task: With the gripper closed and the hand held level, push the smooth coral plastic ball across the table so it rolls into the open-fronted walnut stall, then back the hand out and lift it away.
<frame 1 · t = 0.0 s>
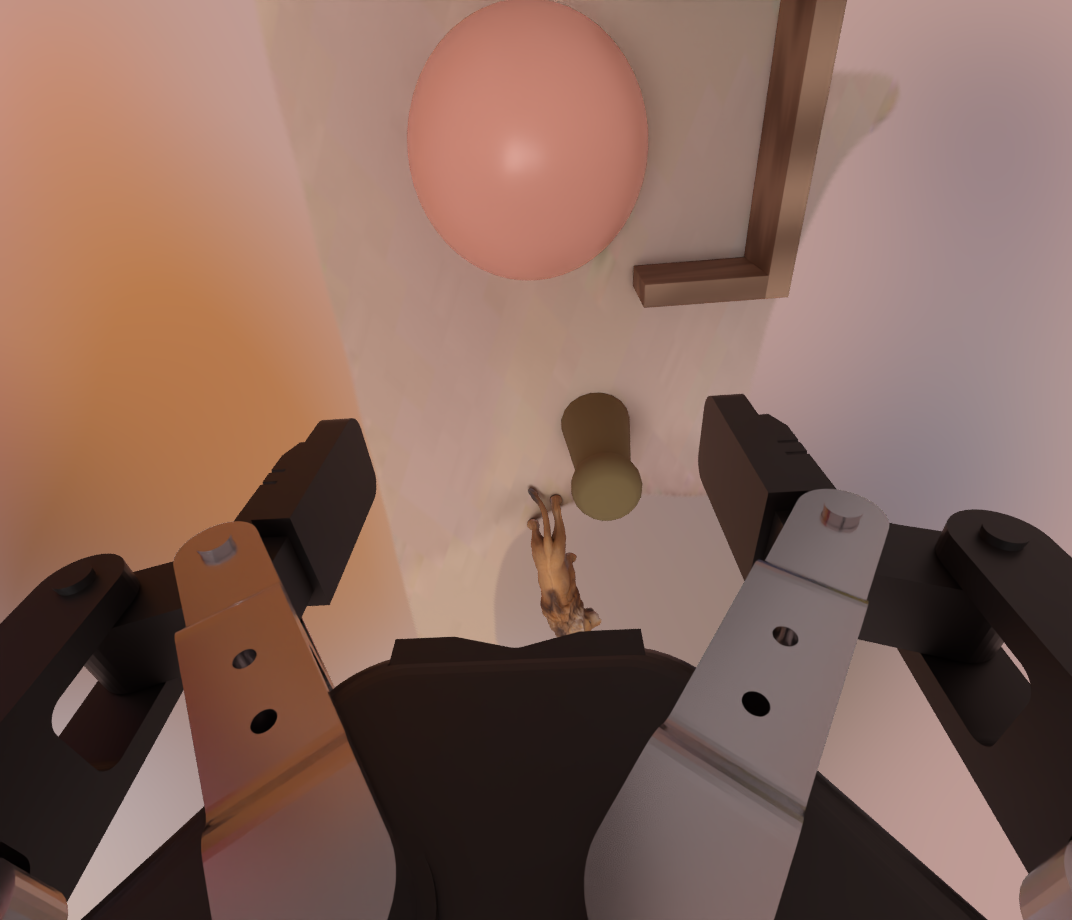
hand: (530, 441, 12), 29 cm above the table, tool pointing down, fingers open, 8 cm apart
stall: (711, 131, 33), on the table
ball: (528, 155, 29), point 6 cm above the table
lion figurine: (558, 539, 54), on the table
cork: (595, 422, 46), on the table
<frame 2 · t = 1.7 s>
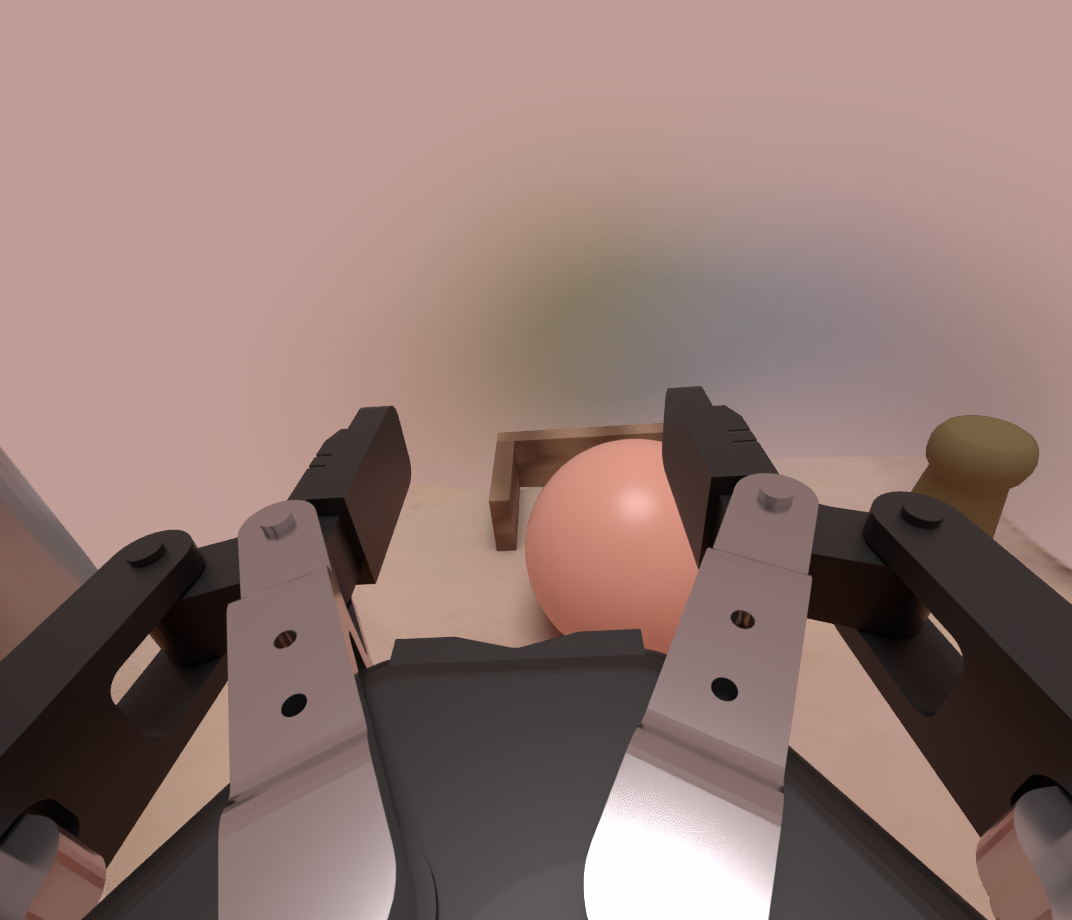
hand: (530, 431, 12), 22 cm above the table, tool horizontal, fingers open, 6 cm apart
stall: (611, 505, 44), on the table
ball: (634, 548, 31), point 6 cm above the table
cork: (924, 562, 37), on the table
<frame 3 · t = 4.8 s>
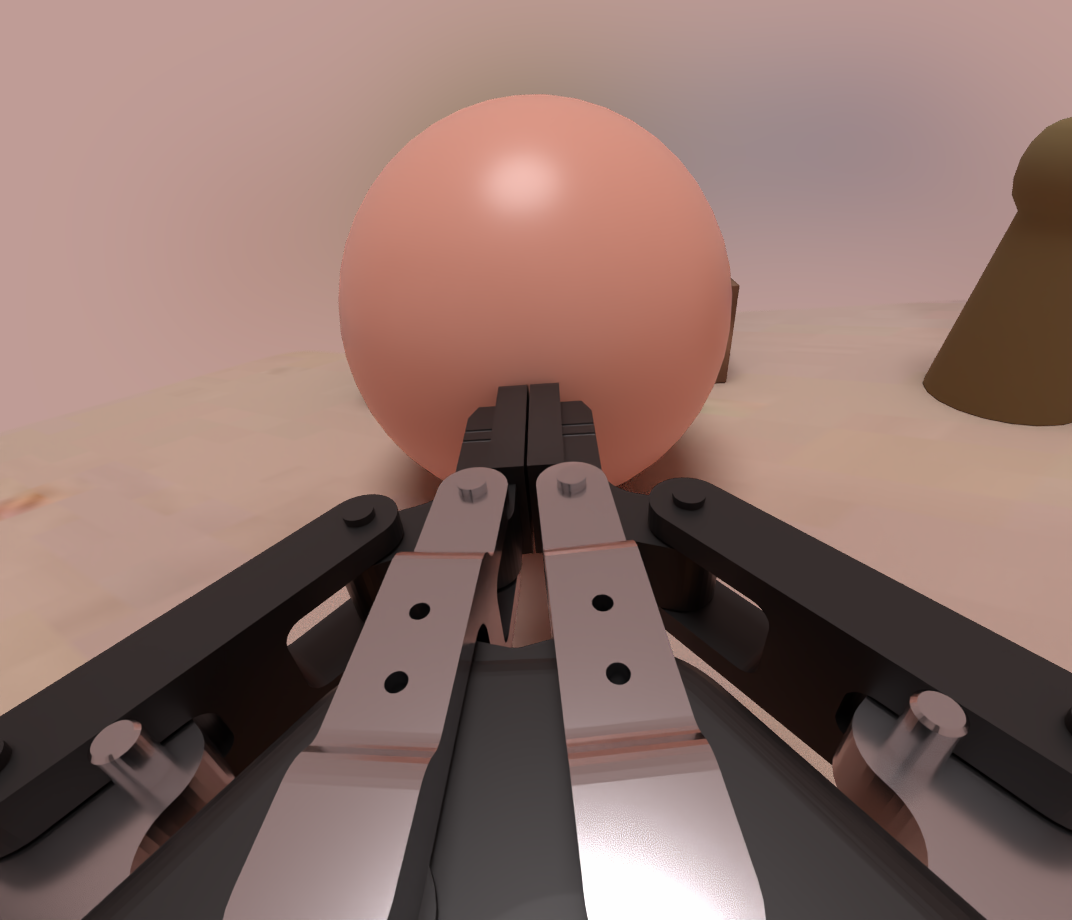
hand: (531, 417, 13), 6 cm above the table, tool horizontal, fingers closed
stall: (544, 358, 31), on the table
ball: (535, 319, 18), point 6 cm above the table, touching gripper
cork: (998, 396, 24), on the table
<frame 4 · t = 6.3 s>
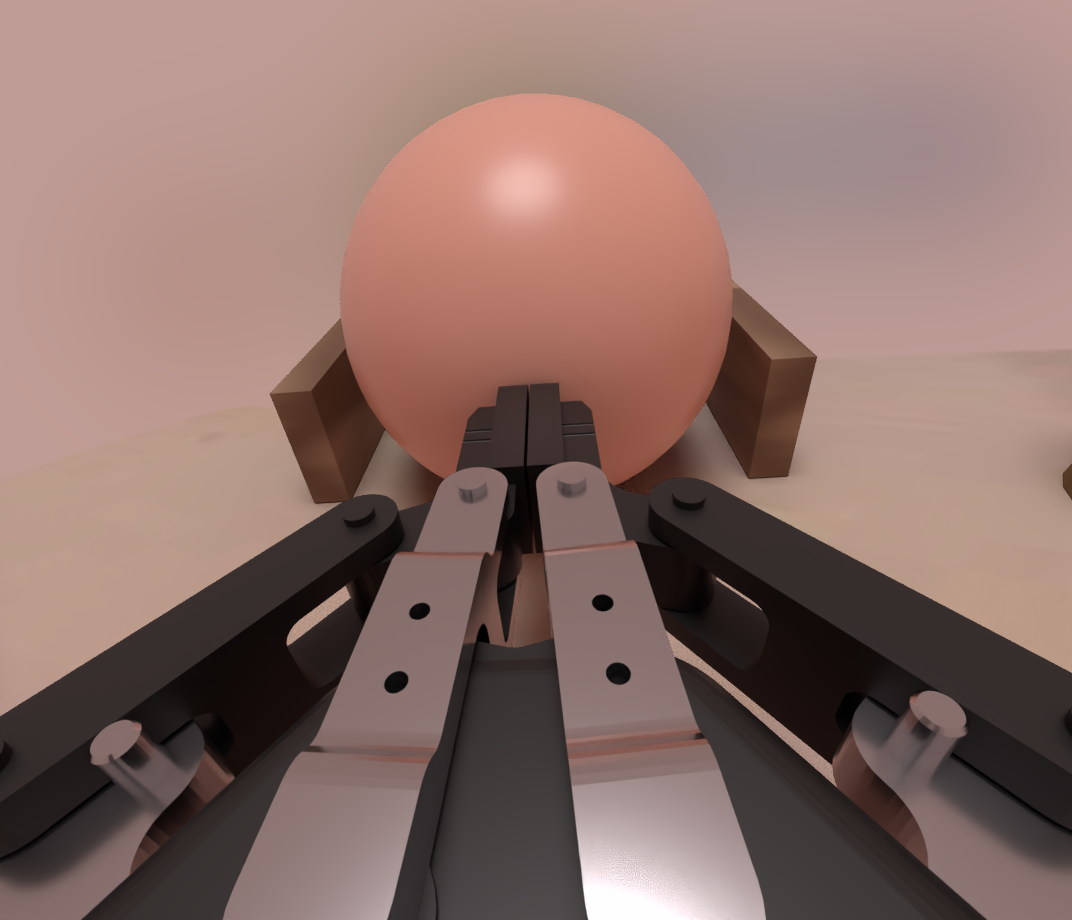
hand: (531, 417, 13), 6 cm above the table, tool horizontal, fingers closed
stall: (544, 428, 25), on the table
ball: (536, 318, 18), point 6 cm above the table, tilted 75°
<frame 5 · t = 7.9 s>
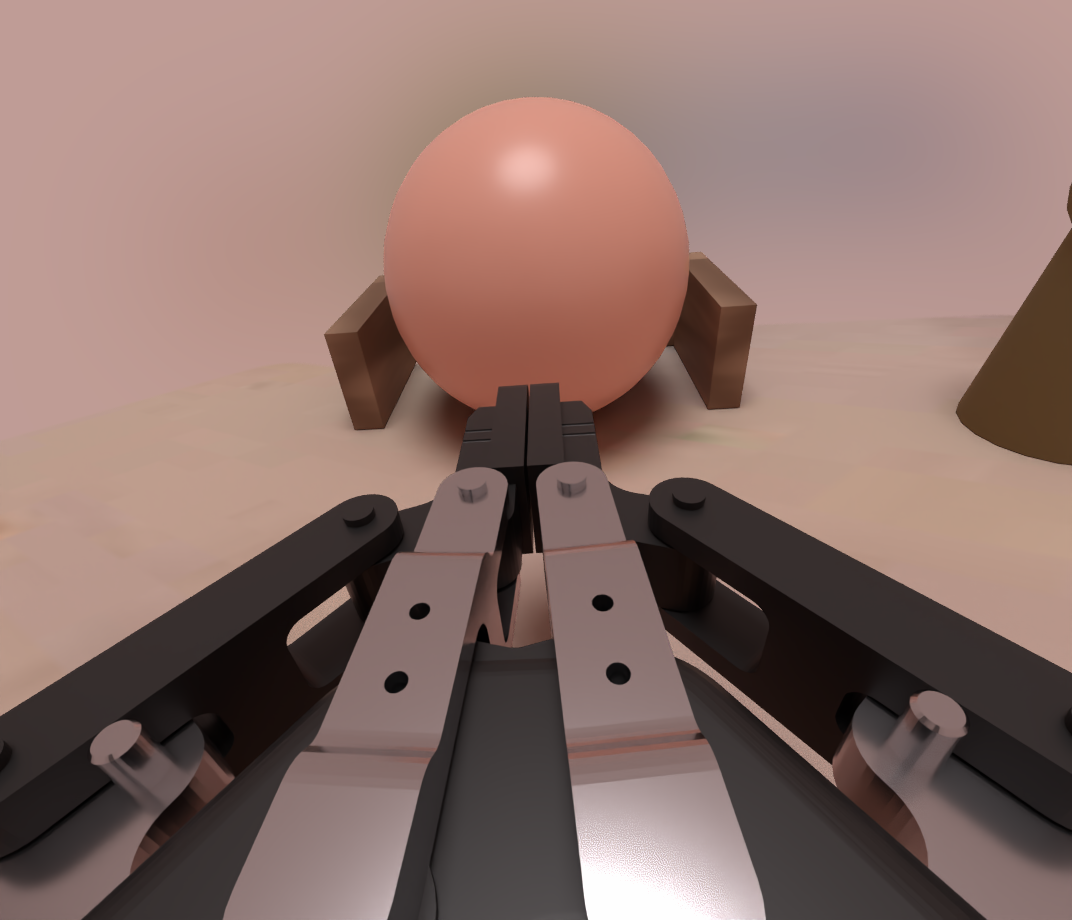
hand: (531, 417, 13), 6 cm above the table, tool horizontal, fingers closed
stall: (543, 376, 29), on the table
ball: (536, 276, 23), point 6 cm above the table, tilted 74°
cork: (1041, 429, 22), on the table
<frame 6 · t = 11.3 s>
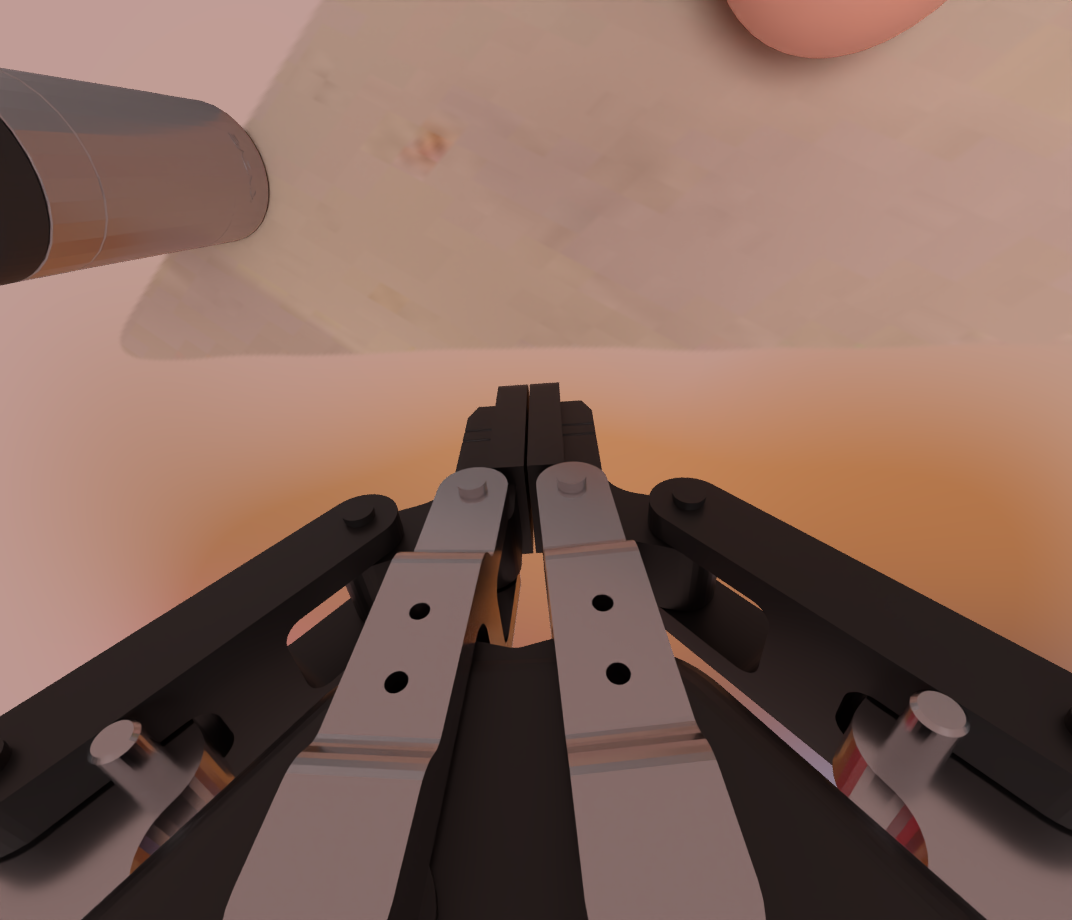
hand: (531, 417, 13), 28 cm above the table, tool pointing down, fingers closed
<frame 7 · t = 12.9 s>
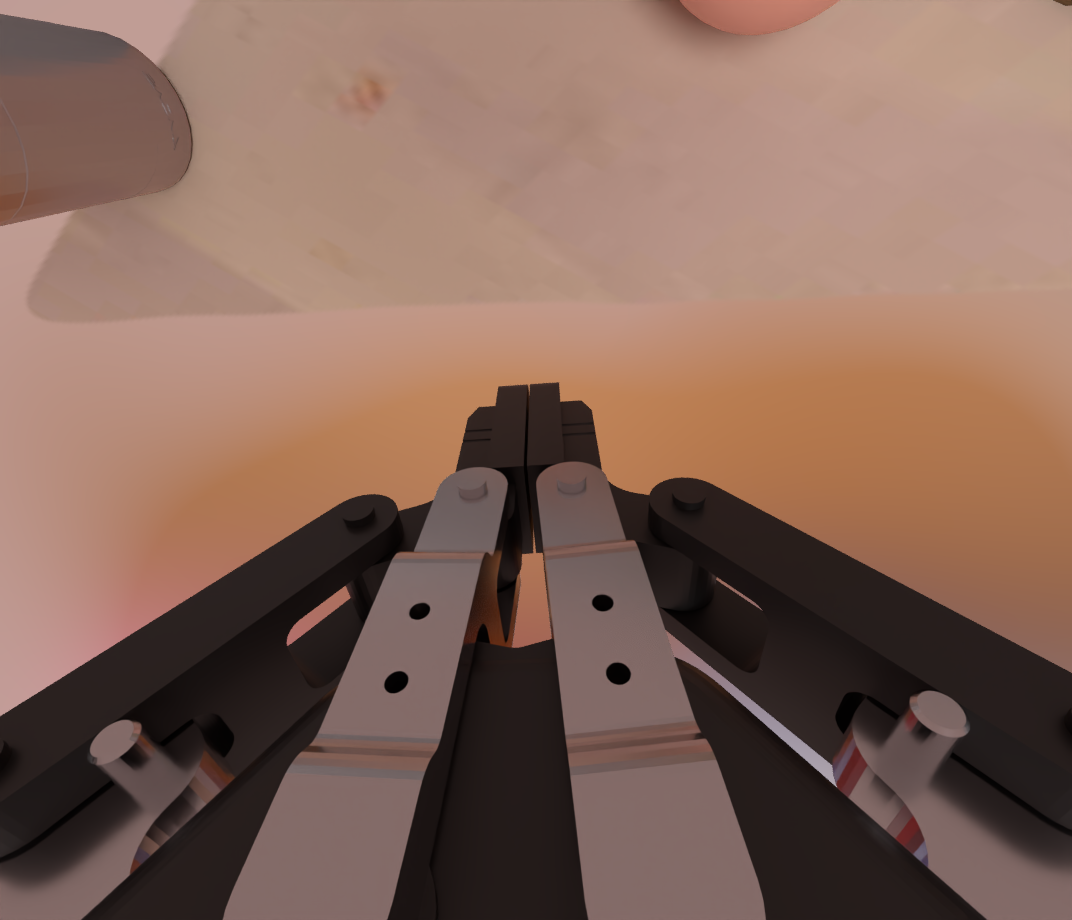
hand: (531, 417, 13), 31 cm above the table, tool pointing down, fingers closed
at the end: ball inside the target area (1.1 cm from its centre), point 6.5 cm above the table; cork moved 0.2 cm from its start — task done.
